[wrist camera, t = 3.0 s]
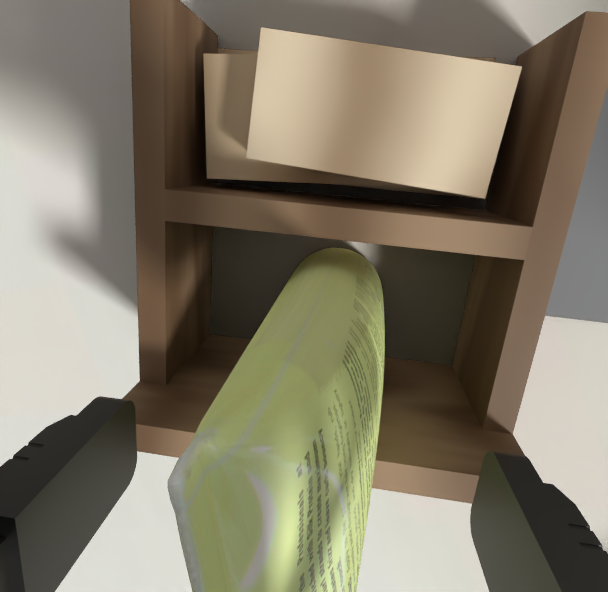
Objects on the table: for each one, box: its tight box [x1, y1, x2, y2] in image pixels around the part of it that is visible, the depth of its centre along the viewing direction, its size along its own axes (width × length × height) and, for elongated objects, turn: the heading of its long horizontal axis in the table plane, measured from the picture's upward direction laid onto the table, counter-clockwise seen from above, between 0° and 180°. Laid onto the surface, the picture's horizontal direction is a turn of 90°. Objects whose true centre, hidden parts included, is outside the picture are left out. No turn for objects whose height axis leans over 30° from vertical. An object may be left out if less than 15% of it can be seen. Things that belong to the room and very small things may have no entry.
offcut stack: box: [203, 27, 522, 199], centre depth 18 cm, size 12×5×5 cm, turn 85°
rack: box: [123, 0, 608, 503], centre depth 18 cm, size 16×16×9 cm
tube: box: [168, 248, 385, 592], centre depth 14 cm, size 6×5×20 cm
